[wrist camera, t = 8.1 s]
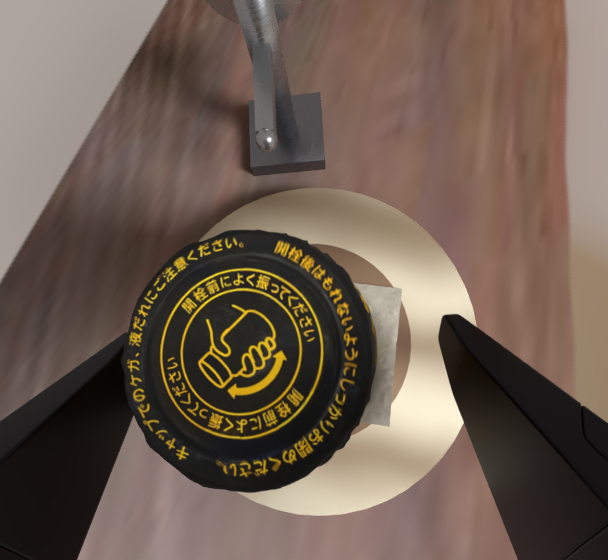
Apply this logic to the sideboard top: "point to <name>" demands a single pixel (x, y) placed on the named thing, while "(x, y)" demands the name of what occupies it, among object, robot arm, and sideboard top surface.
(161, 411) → the condiment
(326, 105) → the sideboard top surface
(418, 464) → the ring
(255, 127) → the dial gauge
